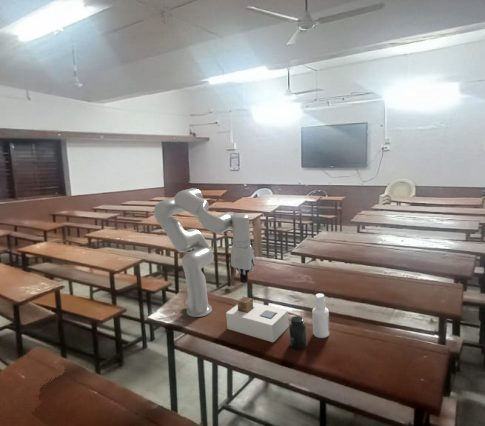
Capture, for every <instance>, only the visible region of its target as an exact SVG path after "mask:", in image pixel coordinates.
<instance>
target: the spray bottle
mask: <svg viewBox="0 0 485 426" xmlns="http://www.w3.org/2000/svg"><path fill="white" fill-rule="evenodd" d="M325 301H326V299H325V294H324V293H316V294H315V305H314V308H312V310H311V313H312V314H311V317H312V334H313V336H314V337H316V338H319V339H325V338H327V337H329V336H330V311H329V309H328V308H327V307H326V302H325Z"/></svg>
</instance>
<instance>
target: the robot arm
mask: <svg viewBox="0 0 485 426" xmlns="http://www.w3.org/2000/svg"><path fill="white" fill-rule="evenodd" d="M209 204H210V203H209V202H208V201H207V200H206V199H204V196H203V194H202V191H201V190H200V189H197V188H195V187H192V188H191V187H190V188H187V189H183V190H180V191H179V192H177V193H176V194H175V195H174V197H171V198H167V199H164V200H161V201H158V203H156V205H155V206H154V210H153V211H154V213H153V214H154V218H155V220H156V223H158V225H159V226H160V228H162V229H163V231H164V232H165V233H166V235H167V237H168V239H169V240H170V242H171V243H172V245H173V247H174V248H175V250H176V251H177V252H179V253H185V252H187V251H189V252H187V253H186V254H184V255H183V257H182V258H181V266H182V269H183V271H184V275H185V283H186V290H187V297H188V299H186V300H185V303H184V306H187V309H186V314H187V315H188V316H189V317H192V318H201V317H204V316H207V315H210V313H211V312H212V311H213V308H212V305H210V304H209V301H208V300H209V298H208V291H207V289H208V288H207V281H206V276H205V274H204V272H203V271H202V269H203V268H204V267H206V266H209V264H211V263H212V262H214V258H215V255H214V252H213V250H212V248H211V246H210V245H209V242H207V241H208V240H206V238H205V236H204V235H203V233H202V232H201V231H199V230H198V229H197V228H190V229H187V230H185V228H184V227H183V224H182V223H180V221H179V220H177V219H176V218H174V217H173V216H176V215H178V214H182V213H184V212H188V213H189V214H191V215H193V216H195V217H197V220H198V222H199V224H200V225H201V226H202V227H203V228H204V229H206V230H208V231H209V232H212V233H215V234H223V233H225V232H226V231H227V232H228V231H229V230H230V231H231V230H232V238H231V242H232V245H231V250H230V265H231V267H232V268H233V269H235V270H237V272H238V274H239V278H240V279H239V280H240V283H243V284H245V283H246V282H248V281H249V280H248V278H249V276H248V274H249V273H250V272H251V273H252V272H253V271H255V255H254V249H253V246H252V244H251V229H250V225H251V224H250V218H249V215H248V214H244V213H243V214H241V213H236V212H233V211H227V212H224V213H222V214H218V215H217V216H215V215H213V214H211V213H210V212H208V211H209V207H210V206H209ZM192 249H193V250H192ZM190 250H191V251H190Z"/></svg>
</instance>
